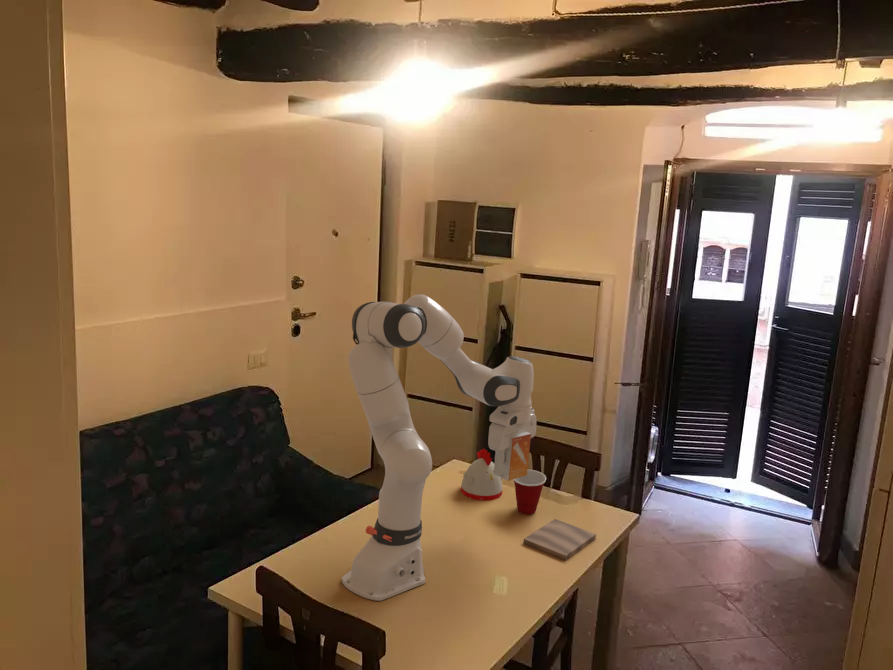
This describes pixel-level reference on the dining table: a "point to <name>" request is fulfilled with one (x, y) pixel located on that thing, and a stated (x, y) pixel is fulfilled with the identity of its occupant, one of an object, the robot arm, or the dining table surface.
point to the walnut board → (559, 539)
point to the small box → (514, 458)
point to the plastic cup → (529, 491)
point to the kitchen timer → (481, 479)
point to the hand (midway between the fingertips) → (511, 457)
